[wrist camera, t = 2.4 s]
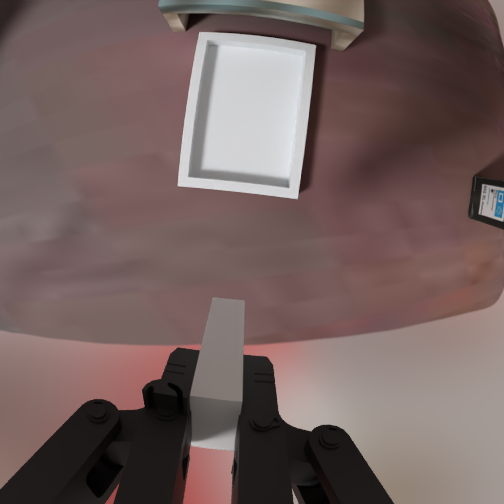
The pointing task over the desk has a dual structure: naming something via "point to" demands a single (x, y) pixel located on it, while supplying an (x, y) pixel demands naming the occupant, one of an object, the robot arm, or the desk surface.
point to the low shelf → (278, 14)
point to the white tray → (247, 114)
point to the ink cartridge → (487, 201)
